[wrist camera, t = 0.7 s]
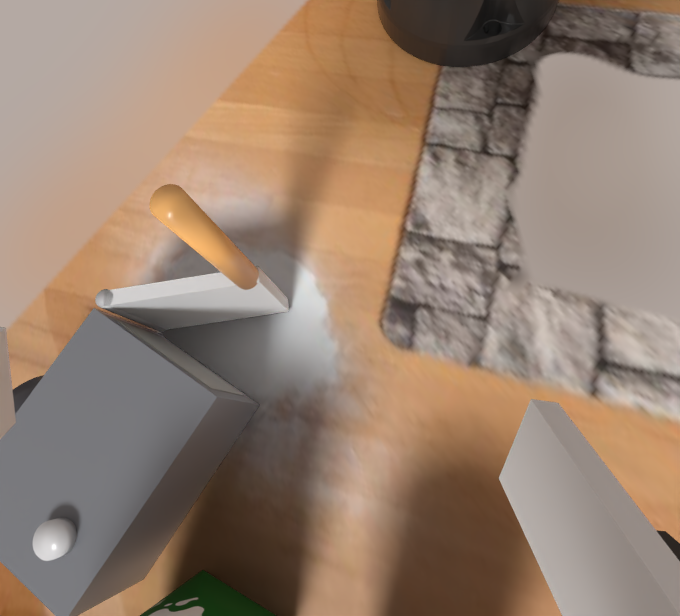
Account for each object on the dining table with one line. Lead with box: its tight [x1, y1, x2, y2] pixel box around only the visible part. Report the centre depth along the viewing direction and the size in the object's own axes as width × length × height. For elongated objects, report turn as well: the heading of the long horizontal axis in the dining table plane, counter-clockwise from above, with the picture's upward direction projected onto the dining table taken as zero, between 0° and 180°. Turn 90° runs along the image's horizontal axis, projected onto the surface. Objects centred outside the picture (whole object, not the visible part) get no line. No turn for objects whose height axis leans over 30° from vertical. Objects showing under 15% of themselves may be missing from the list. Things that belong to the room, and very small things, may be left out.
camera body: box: [0, 308, 259, 616], centre depth 31 cm, size 14×12×9 cm
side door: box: [95, 184, 289, 332], centre depth 29 cm, size 2×11×17 cm, turn 97°
